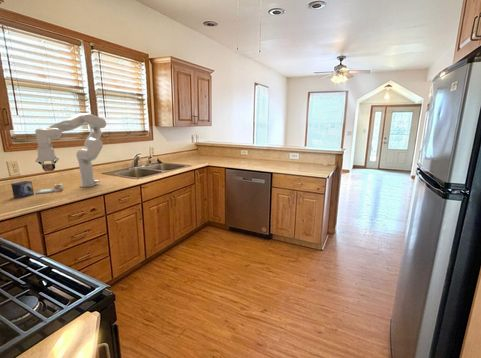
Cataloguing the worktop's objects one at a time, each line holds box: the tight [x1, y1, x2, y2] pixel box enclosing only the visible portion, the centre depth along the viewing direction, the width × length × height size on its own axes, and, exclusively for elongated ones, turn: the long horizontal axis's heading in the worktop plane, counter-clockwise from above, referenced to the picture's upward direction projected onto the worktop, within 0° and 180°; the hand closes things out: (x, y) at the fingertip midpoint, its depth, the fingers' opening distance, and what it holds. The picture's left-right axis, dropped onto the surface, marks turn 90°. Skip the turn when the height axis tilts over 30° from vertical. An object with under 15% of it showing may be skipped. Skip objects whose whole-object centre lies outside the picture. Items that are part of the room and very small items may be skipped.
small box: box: [10, 180, 35, 199], centre depth 193 cm, size 11×6×10 cm, turn 164°
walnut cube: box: [43, 162, 54, 172], centre depth 196 cm, size 5×5×5 cm
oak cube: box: [53, 183, 64, 192], centre depth 209 cm, size 5×5×5 cm
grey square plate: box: [36, 187, 55, 195], centre depth 205 cm, size 10×10×1 cm
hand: (49, 169), depth 196 cm, fingers closed on walnut cube, 5 cm apart
